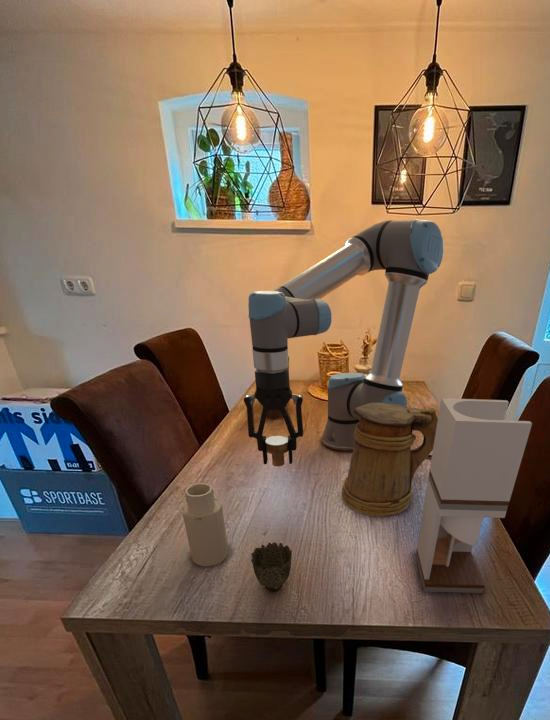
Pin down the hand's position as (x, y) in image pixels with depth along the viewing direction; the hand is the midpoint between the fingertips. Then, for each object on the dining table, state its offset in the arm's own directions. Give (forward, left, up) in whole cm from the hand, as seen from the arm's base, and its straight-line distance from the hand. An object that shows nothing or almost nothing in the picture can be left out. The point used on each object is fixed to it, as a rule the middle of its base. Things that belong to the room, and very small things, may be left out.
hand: (278, 461), depth 99 cm
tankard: (-28, +2, -10) cm, 30 cm away
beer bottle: (+5, -59, -10) cm, 60 cm away
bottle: (+13, +23, -10) cm, 29 cm away
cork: (0, 0, -1) cm, 1 cm away
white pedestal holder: (-36, +31, -10) cm, 49 cm away
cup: (-1, +33, -10) cm, 35 cm away
